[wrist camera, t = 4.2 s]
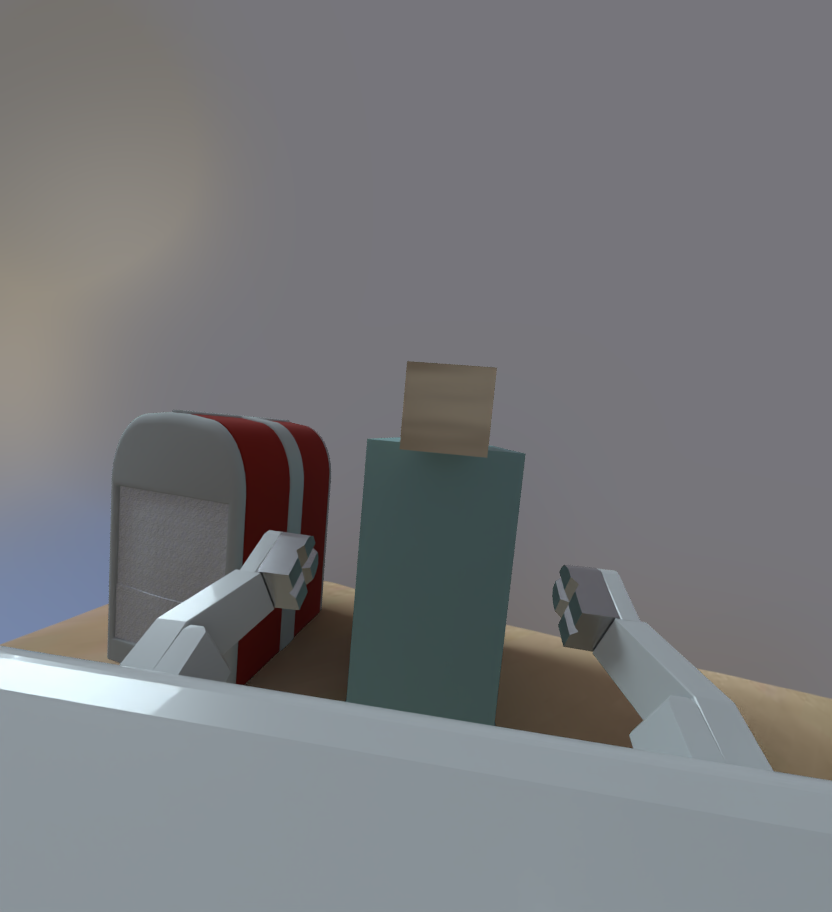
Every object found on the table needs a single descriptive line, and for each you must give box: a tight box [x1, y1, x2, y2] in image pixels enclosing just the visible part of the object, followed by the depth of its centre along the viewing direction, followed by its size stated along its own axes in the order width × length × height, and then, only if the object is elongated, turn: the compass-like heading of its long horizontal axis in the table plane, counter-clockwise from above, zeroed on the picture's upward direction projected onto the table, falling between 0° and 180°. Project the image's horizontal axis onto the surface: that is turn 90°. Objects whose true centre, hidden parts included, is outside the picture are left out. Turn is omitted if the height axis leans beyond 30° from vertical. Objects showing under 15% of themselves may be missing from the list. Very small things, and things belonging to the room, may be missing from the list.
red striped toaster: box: [107, 410, 331, 685], centre depth 41 cm, size 17×18×27 cm
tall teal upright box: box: [345, 437, 525, 726], centre depth 35 cm, size 20×14×26 cm
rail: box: [400, 361, 497, 458], centre depth 27 cm, size 24×4×4 cm, turn 175°
